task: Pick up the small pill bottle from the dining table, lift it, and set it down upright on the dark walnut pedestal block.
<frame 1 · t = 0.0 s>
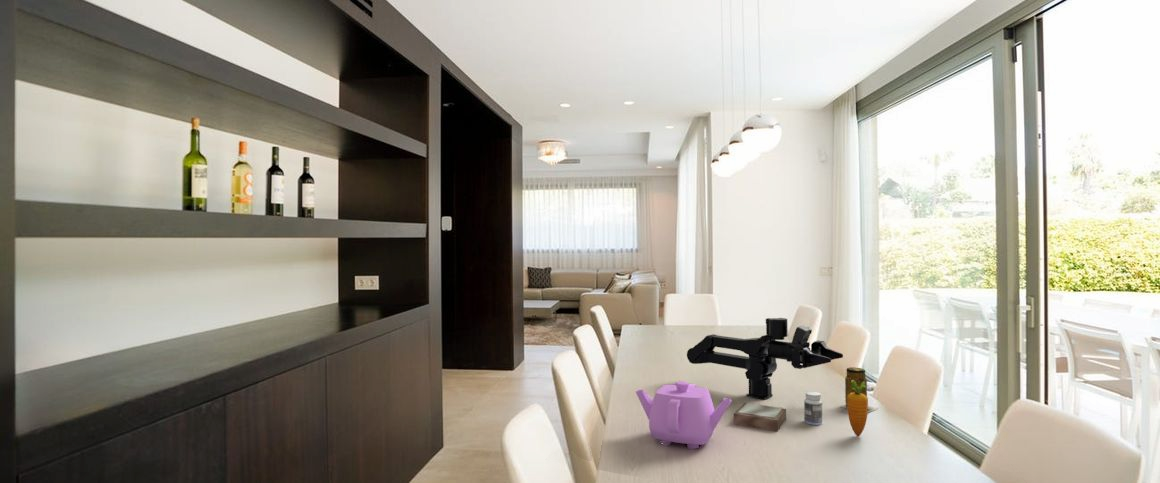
hand: (836, 358, 162), 17 cm above the table, tool horizontal, fingers open, 9 cm apart
teapot: (682, 440, 140), on the table
carrot: (857, 437, 141), on the table
pedestal: (760, 421, 154), on the table
condiment: (858, 408, 166), on the table
pill bottle: (813, 423, 153), on the table
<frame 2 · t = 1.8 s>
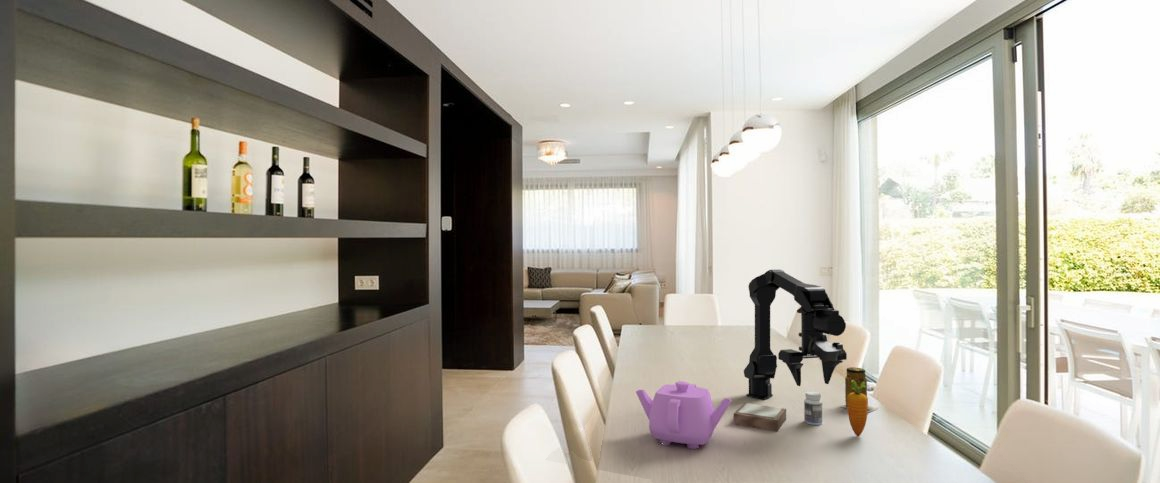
hand: (812, 384, 153), 11 cm above the table, tool pointing down, fingers open, 9 cm apart
nothing on the table moved.
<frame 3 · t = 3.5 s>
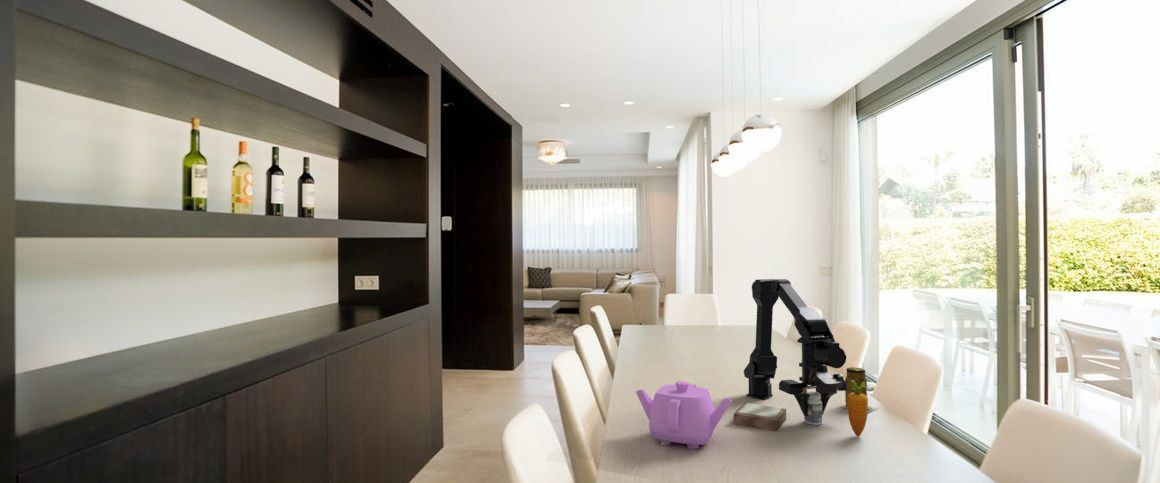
hand: (813, 415, 153), 2 cm above the table, tool pointing down, fingers closed on pill bottle, 5 cm apart
pill bottle: (813, 423, 153), on the table, touching gripper
everything else where it was.
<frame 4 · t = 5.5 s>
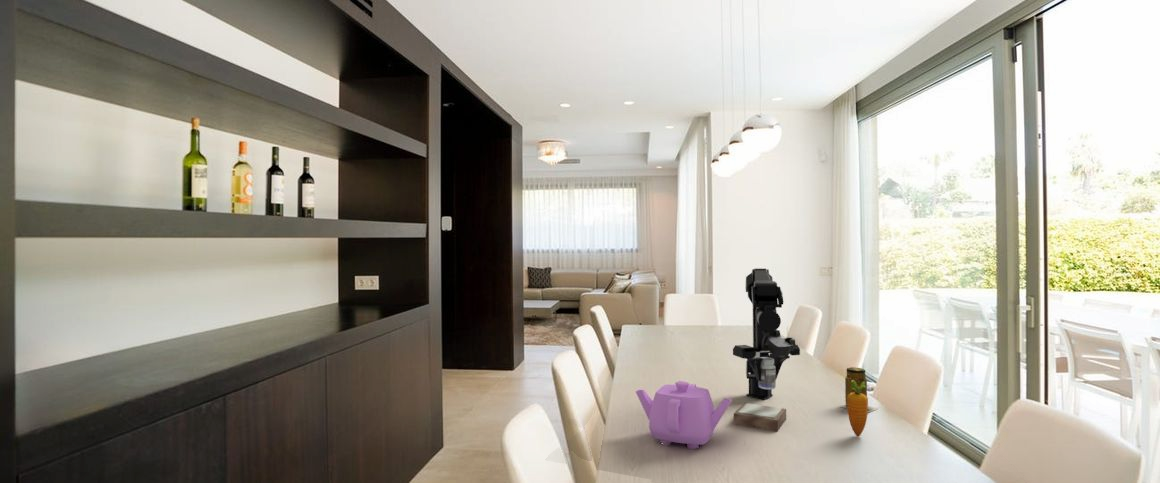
hand: (766, 380, 154), 12 cm above the table, tool pointing down, fingers closed on pill bottle, 5 cm apart
pill bottle: (767, 388, 154), point 10 cm above the table, touching gripper
everything else where it was.
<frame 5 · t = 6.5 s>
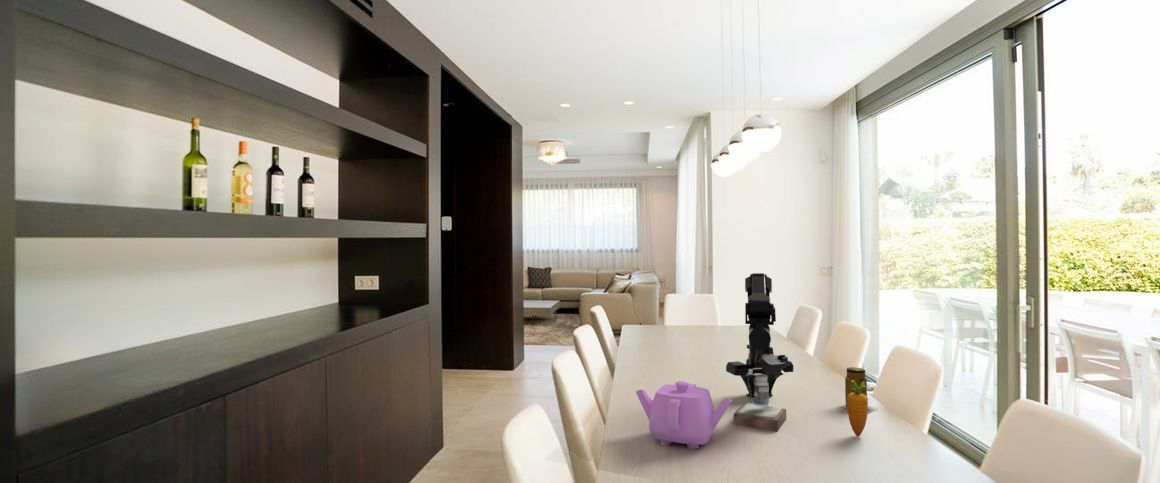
hand: (760, 396, 154), 7 cm above the table, tool pointing down, fingers closed on pill bottle, 5 cm apart
pill bottle: (760, 404, 154), point 5 cm above the table, touching gripper
everything else where it was.
when the fingers open (6 cm above the table, at t = 7.4 s): pill bottle stays where it is, resting on pedestal.
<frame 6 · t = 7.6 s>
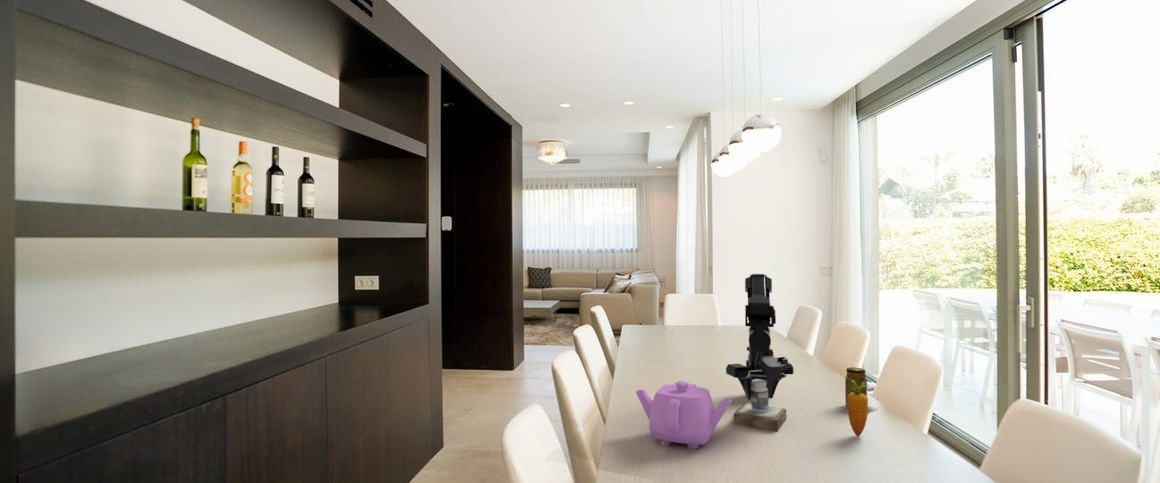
hand: (760, 398, 154), 6 cm above the table, tool pointing down, fingers open, 7 cm apart
pill bottle: (760, 410, 154), point 3 cm above the table, touching pedestal
everything else where it was.
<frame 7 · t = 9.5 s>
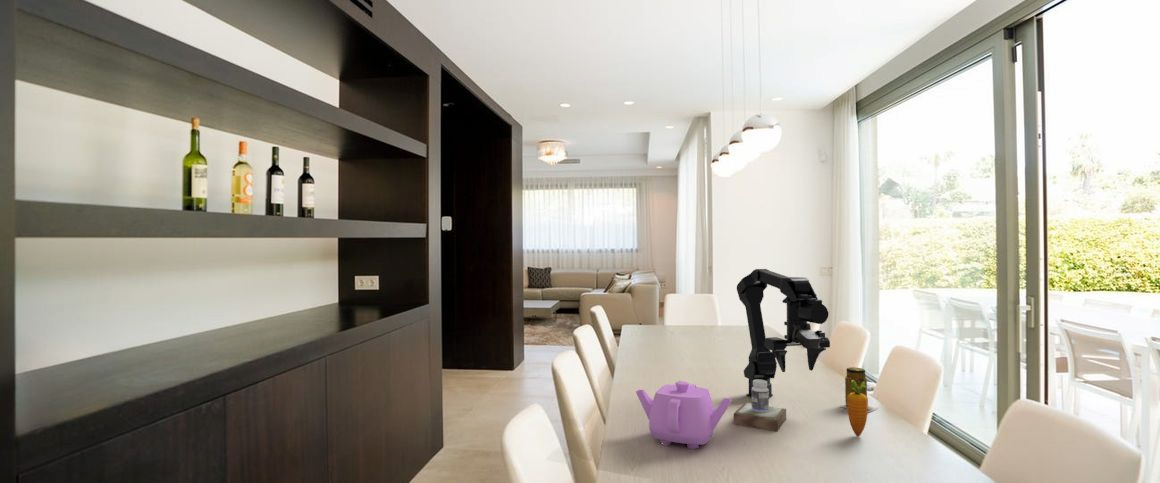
hand: (797, 371, 161), 13 cm above the table, tool pointing down, fingers open, 9 cm apart
nothing on the table moved.
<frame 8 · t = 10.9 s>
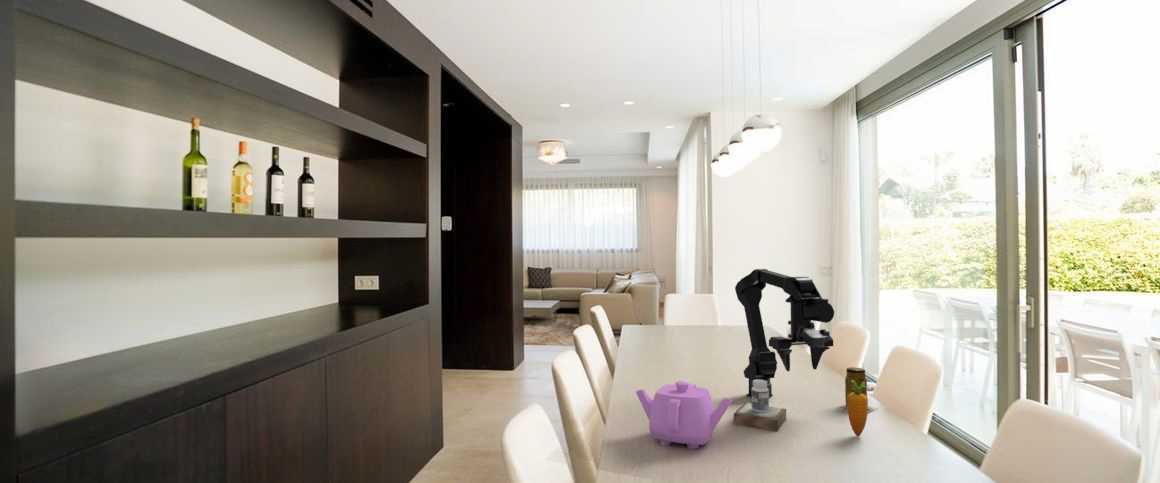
hand: (801, 370, 161), 13 cm above the table, tool pointing down, fingers open, 9 cm apart
nothing on the table moved.
at the end: pill bottle inside the target area on the pedestal (0.0 cm from its centre), point 3.1 cm above the pedestal's base; pill bottle tilted 0°; the gripper is holding nothing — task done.
